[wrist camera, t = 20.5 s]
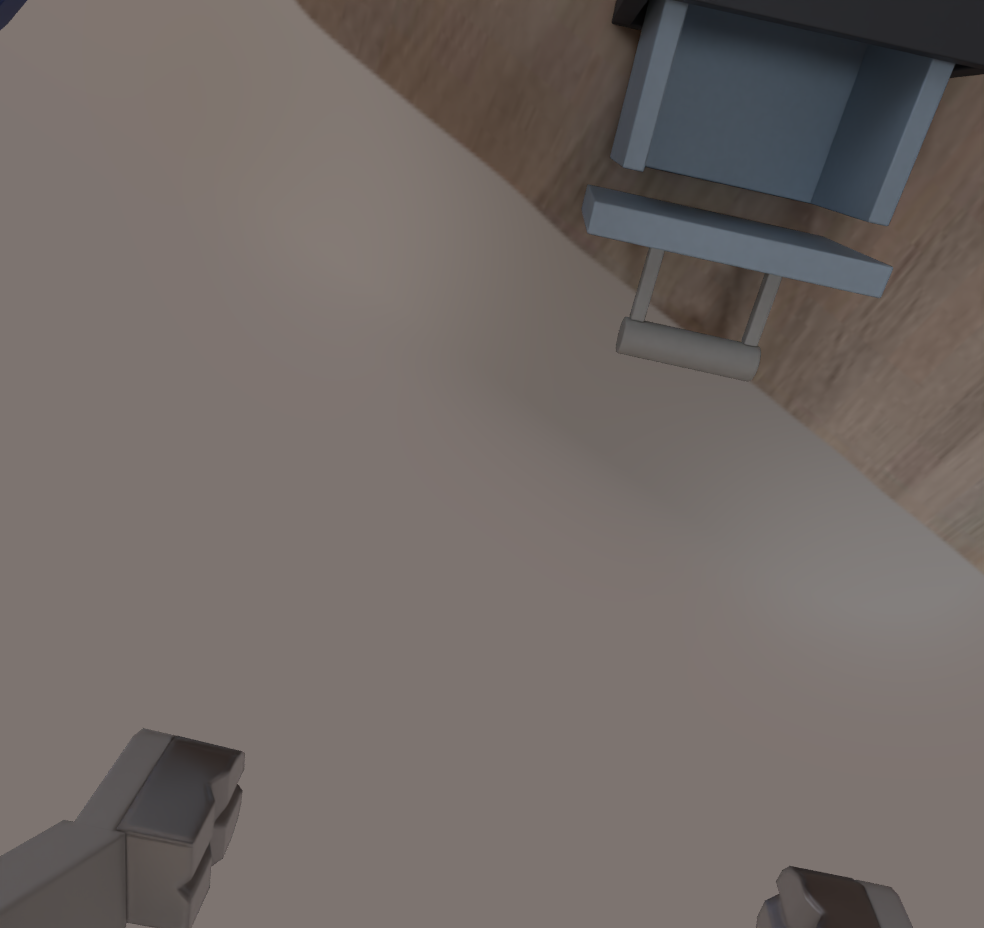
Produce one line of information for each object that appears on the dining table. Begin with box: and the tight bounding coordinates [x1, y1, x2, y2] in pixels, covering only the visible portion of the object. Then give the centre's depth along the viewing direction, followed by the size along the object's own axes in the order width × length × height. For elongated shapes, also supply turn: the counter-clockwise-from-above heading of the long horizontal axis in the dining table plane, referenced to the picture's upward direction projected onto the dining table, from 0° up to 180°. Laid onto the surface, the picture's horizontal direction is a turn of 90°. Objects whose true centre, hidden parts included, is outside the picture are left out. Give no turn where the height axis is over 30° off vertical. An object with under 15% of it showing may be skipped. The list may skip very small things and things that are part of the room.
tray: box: [582, 0, 955, 381], centre depth 30 cm, size 18×11×8 cm, turn 169°
